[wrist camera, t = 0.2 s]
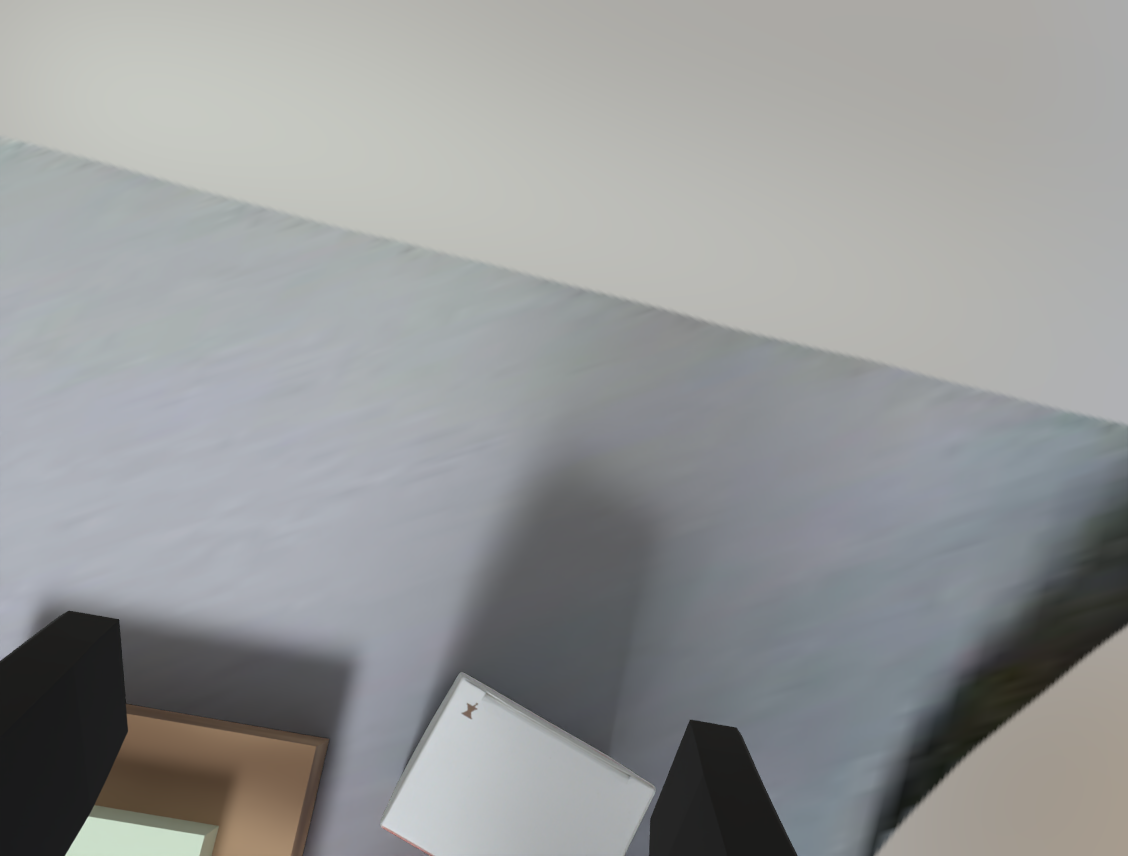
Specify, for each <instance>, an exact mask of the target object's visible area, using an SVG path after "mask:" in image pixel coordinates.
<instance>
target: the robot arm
mask: <svg viewBox="0 0 1128 856" xmlns="http://www.w3.org/2000/svg"><path fill="white" fill-rule="evenodd" d="M127 733H128V724H127V711H126V699H125V687H124V674H123V662H122V650H121V637H120V625H119V619H113V618H108V617H102V616H96V615H91V614H85V613H79V612H73V611H68V612H66V613H64V614H63V615H61V616H60V617H58V618H57V619H55V620H54V621H53V622H51V623H50V624H49V625H47V626H46V627H45V628H43V629H42V630H41V631H39V632H38V633H37V634H35V635H34V636H33V637H31V638H30V639H29V640H27V641H26V642H25V643H23V644H22V645H21V646H19V647H18V648H17V649H15V650H14V651H13V652H11V653H10V654H9V655H8V656H6V657H5V658H4V659H2V660H1V661H0V856H65V855H66V853H67V852H68V850H69V848H70V847H71V845H72V843H73V842H74V840H75V838H76V837H77V835H78V833H79V832H80V830H81V828H82V826H83V825H84V823H85V821H86V820H87V818H88V816H89V815H90V813H91V811H92V809H93V807H94V805H95V803H96V800H97V798H98V796H99V794H100V792H101V790H102V788H103V786H104V784H105V781H106V779H107V777H108V775H109V773H110V771H111V768H112V766H113V764H114V762H115V759H116V757H117V755H118V753H119V751H120V748H121V746H122V744H123V742H124V739H125V737H126V735H127ZM649 856H797V854H796V852H795V850H794V848H793V846H792V844H791V842H790V840H789V838H788V835H787V833H786V831H785V829H784V827H783V825H782V823H781V821H780V819H779V817H778V815H777V812H776V810H775V808H774V806H773V804H772V802H771V800H770V798H769V795H768V793H767V791H766V789H765V787H764V785H763V782H762V780H761V778H760V776H759V773H758V771H757V769H756V767H755V764H754V762H753V760H752V758H751V755H750V753H749V751H748V749H747V746H746V744H745V742H744V739H743V737H742V735H741V734H740V732H739V731H738V729H737V728H735V727H729V726H724V725H718V724H712V723H706V722H701V721H695V720H690V721H689V724H688V726H687V729H686V731H685V734H684V736H683V739H682V741H681V744H680V746H679V749H678V751H677V754H676V756H675V759H674V761H673V764H672V766H671V769H670V771H669V774H668V776H667V779H666V781H665V784H664V786H663V789H662V791H661V794H660V796H659V799H658V801H657V804H656V806H655V809H654V811H653V814H652V816H651V819H650V847H649Z"/></svg>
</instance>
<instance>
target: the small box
mask: <svg viewBox="0 0 1128 856" xmlns="http://www.w3.org/2000/svg"><path fill="white" fill-rule="evenodd" d="M655 792H656V788H655V787H654V786H653V785H652V784H651V783H649V782H648V781H646V780H645V779H643V778H641V777H640V776H638V775H637V774H635V773H634V772H632V771H631V770H629V769H628V768H626V767H624V766H623V765H621V764H620V763H618V762H617V761H615V760H614V759H612V758H611V757H609V756H608V755H606V754H604V753H602V752H601V751H599V750H597V749H596V748H594V747H592V746H590V745H589V744H587V743H585V742H583V741H582V740H580V739H578V738H576V737H575V736H573V735H571V734H569V733H568V732H566V731H564V730H562V729H561V728H559V727H557V726H555V725H554V724H552V723H550V722H548V721H547V720H545V719H543V718H541V717H540V716H538V715H536V714H535V713H533V712H531V711H529V710H528V709H526V708H524V707H523V706H521V705H519V704H517V703H516V702H514V701H512V700H511V699H509V698H507V697H505V696H504V695H502V694H500V693H499V692H497V691H495V690H493V689H492V688H490V687H488V686H486V685H485V684H483V683H481V682H479V681H478V680H476V679H474V678H472V677H471V676H469V675H467V674H465V673H463V672H461V673H459V675H458V676H457V678H456V680H455V681H454V683H453V685H452V686H451V688H450V690H449V691H448V693H447V695H446V696H445V698H444V700H443V701H442V703H441V705H440V707H439V708H438V710H437V712H436V713H435V715H434V717H433V719H432V720H431V722H430V724H429V726H428V727H427V729H426V731H425V733H424V735H423V736H422V738H421V740H420V742H419V744H418V745H417V747H416V749H415V751H414V753H413V755H412V757H411V758H410V760H409V762H408V764H407V766H406V768H405V770H404V772H403V773H402V775H401V777H400V779H399V781H398V783H397V785H396V787H395V790H394V792H393V794H392V796H391V799H390V801H389V803H388V805H387V807H386V809H385V811H384V814H383V816H382V819H381V828H383V829H385V830H387V831H389V832H390V833H392V834H394V835H396V836H397V837H399V838H401V839H402V840H404V841H406V842H408V843H409V844H411V845H413V846H415V847H416V848H418V849H420V850H421V851H423V852H425V853H427V854H428V855H430V856H624V855H625V853H626V851H627V849H628V847H629V845H630V843H631V841H632V839H633V837H634V835H635V833H636V831H637V829H638V827H639V825H640V823H641V821H642V819H643V817H644V815H645V813H646V811H647V808H648V806H649V804H650V802H651V800H652V798H653V796H654V794H655Z"/></svg>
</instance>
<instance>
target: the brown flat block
mask: <svg viewBox="0 0 1128 856" xmlns="http://www.w3.org/2000/svg"><path fill="white" fill-rule="evenodd" d="M126 711H127V724H128V733H127V735H126V737H125V739H124V742H123V744H122V746H121V748H120V751H119V753H118V755H117V757H116V759H115V762H114V764H113V766H112V768H111V771H110V773H109V775H108V777H107V779H106V781H105V784H104V786H103V788H102V790H101V792H100V794H99V796H98V798H97V800H96V803H95V805H96V806H102V807H108V808H114V809H120V810H126V811H132V812H138V813H144V814H150V815H156V816H162V817H169V818H175V819H181V820H187V821H193V822H199V823H205V824H211V825H217V826H219V828H218V832H217V836H216V840H215V844H214V848H213V852H212V856H303V851H304V847H305V843H306V838H307V834H308V830H309V825H310V821H311V817H312V812H313V808H314V804H315V799H316V795H317V791H318V786H319V782H320V778H321V773H322V769H323V765H324V760H325V756H326V752H327V747H328V743H329V739H327V738H321V737H316V736H310V735H304V734H298V733H292V732H287V731H281V730H275V729H269V728H263V727H258V726H252V725H246V724H240V723H234V722H229V721H223V720H217V719H211V718H205V717H200V716H194V715H188V714H182V713H176V712H171V711H165V710H159V709H153V708H147V707H142V706H136V705H130V704H126Z"/></svg>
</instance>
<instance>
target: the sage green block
mask: <svg viewBox="0 0 1128 856" xmlns="http://www.w3.org/2000/svg"><path fill="white" fill-rule="evenodd" d="M218 828H219V826H217V825H211V824H205V823H199V822H193V821H187V820H181V819H175V818H169V817H162V816H156V815H150V814H144V813H138V812H132V811H126V810H120V809H114V808H108V807H102V806H96V805H94V807H93V809H92V811H91V813H90V815H89V816H88V818H87V820H86V821H85V823H84V825H83V826H82V828H81V830H80V832H79V833H78V835H77V837H76V838H75V840H74V842H73V843H72V845H71V847H70V848H69V850H68V852H67V853H66V855H65V856H212V852H213V848H214V844H215V840H216V836H217V832H218Z"/></svg>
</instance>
